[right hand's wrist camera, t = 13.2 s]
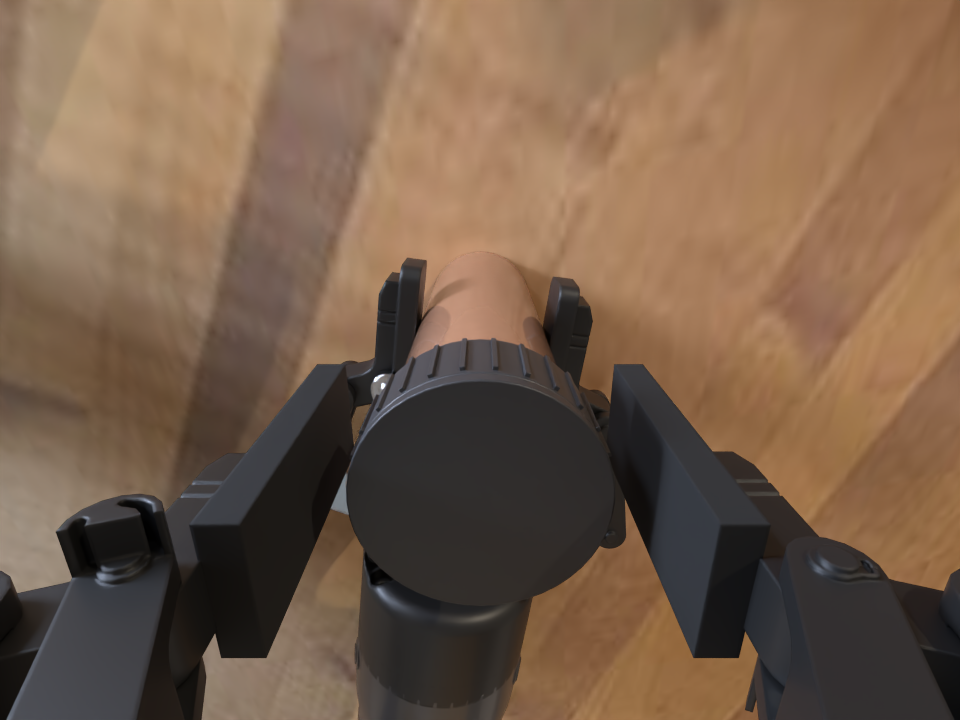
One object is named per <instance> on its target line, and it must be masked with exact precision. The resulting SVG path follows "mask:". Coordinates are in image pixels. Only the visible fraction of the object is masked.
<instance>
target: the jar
mask: <svg viewBox="0 0 960 720" xmlns="http://www.w3.org/2000/svg"><path fill="white" fill-rule="evenodd" d="M463 338H467V340H475V339H486V340H491V338H496V340H498V341H504V342H509V343H513V344H516V345H519V344H520V343H521V344H524V346H525V347H526V348H528V349H530V350H532V351H534V352H537V353H539V354H541V355H542V356H545V355H547V356H549V357H550V360H551V361H552V362H553V363H554V364H556V363H555V360H554V358H553V355H552V352H551V349H550V347H549V344H548V341H547V339H546V336H545V333H544V331H543V328H542V325H541V322H540V320H539V317H538V314H537V312H536V309H535V306H534V304H533V301H532V298H531V295H530V293H529V290H528V287H527V285H526V282H525V280H524V278H523V276H522V274H521V273H520V271H519V270H518V269H517V268H516V266H514V265H513V264H512V263H511V262H510V261H508V260H507V259H505V258H503V257H501V256H499V255H496V254H493V253H489V252H473V253H468V254H465V255H462V256H460V257H458V258H456V259H454V260H453V261H451V262H450V263H449V264H448V265H447V266H446V267H445V268H444V269H443V270H442V271H441V273H440V274H439V276H438V278H437V280H436V282H435V285H434V287H433V290H432V293H431V296H430V298H429V301H428V304H427V306H426V309H425V312H424V315H423V317H422V320H421V323H420V325H419V328H418V331H417V334H416V336H415V339H414V342H413V345H412V347H411V350H410V353H409V355H408V358H407V361H406V364H407V363H408V361H409V359H410V358H411V357H414V358H416V357H417V356H419V355H421V354H423V353H425V352H427V351H429V350H431V349H433V348H434V346H435V345H438V344H439V346H442V345H445V344H448V343H452V342H458V341H462V339H463ZM406 364H405V365H406Z"/></svg>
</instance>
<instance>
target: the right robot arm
mask: <svg viewBox="0 0 960 720" xmlns="http://www.w3.org/2000/svg"><path fill="white" fill-rule="evenodd" d="M607 446H608V448H609V450H610V453H611V457H609V459H610V462H611V466H612V469H613V472H614V474H615V476H616V479H617V481H618V483H619V486H620V488H621V490H622V493H623V495H624V497H625V500H626V502H627V504H628V507H629V509H630V511H631V514H632V516H633V518H634V521H635V523H636V525H637V528H638V530H639V532H640V534H641V537H642V539H643V541H644V544H645V546H646V548H647V551H648V553H649V555H650V558H651V560H652V562H653V565H654V567H655V569H656V572H657V574H658V576H659V579H660V581H661V583H662V586H663V588H664V590H665V593H666V595H667V597H668V600H669V602H670V604H671V607H672V609H673V611H674V614H675V616H676V618H677V621H678V623H679V625H680V627H681V630H682V632H683V634H684V637H685V639H686V641H687V644H688V646H689V648H690V651H691V653H692V655H693V658H739V655H740V651H741V646H742V642H743V638H744V634H745V632H746V633H747V635H748V637H749V639H750V640H751V642H752V644H753V646H754V647H755V649H756V651H757V653H758V658H757V662H756V666H755V669H754V673H753V677H752V681H751V685H750V689H749V692H748V696H747V701H746V708H745V710H747V711H750V712H753V709H754V706H755V702H756V700H757V709H758V717H759V720H960V569H958V570H957V571H955V572H954V573H952V574H951V575H950V577H949V580H948V582H947V585H946V587H945V590H944V591H941V590H936V589H931V588H927V587H922V586H917V585H913V584H908V583H903V582H899V581H894V580H891V579H888V577H887V575H886V574H885V573H884V571H883V570H882V569H881V567H880V566H879V565H878V564H877V563H876V562H874V561H873V560H872V559H870V558H869V557H868V556H867V555H865V554H864V553H862V552H860V551H858V550H856V549H854V548H852V547H850V546H848V545H846V544H844V543H841V542H838V541H834V540H831V539H828V538H822V537H819V536H818V535H817V534H816V533H815V532H814V531H813V530H812V528H811V527H810V526H809V525H808V524H807V523H806V522H805V521H804V520H803V518H802V517H801V516H800V515H799V514H798V513H797V512H796V511H795V510H794V508H793V507H792V506H791V505H790V504H789V503H788V502H787V501H786V500H785V499H784V497H783V496H780V495H779V492H778V491H777V490H776V489H775V487H774V486H773V485H772V484H771V483H768V480H767V479H766V477H765V476H764V475H763V474H762V473H761V472H760V471H759V470H758V469H757V468H756V466H755V465H754V464H752V463H750V462H749V461H747V460H745V459H744V458H742V457H741V456H739V455H737V454H736V453H734V452H712V450H711V449H710V448H709V447H708V445H707V444H706V443H705V442H704V440H703V439H702V438H701V437H700V435H699V434H698V433H697V432H696V430H695V429H694V428H693V427H692V425H691V424H690V423H689V422H688V420H687V419H686V418H685V417H684V415H683V414H682V413H681V412H680V410H679V409H678V408H677V407H676V405H675V404H674V403H673V402H672V400H671V399H670V398H669V397H668V395H667V394H666V393H665V392H664V390H663V389H662V388H661V387H660V385H659V384H658V383H657V382H656V380H655V379H654V378H653V377H652V375H651V374H650V373H649V372H648V370H647V369H646V368H645V367H644V365H643V364H614V373H613V383H612V393H611V403H610V413H609V423H608V434H607ZM353 448H354V444H353V434H352V424H351V413H350V403H349V393H348V383H347V373H346V364H317V365H316V367H315V368H314V369H313V370H312V372H311V373H310V374H309V375H308V377H307V378H306V379H305V380H304V382H303V383H302V384H301V385H300V387H299V388H298V389H297V390H296V392H295V393H294V394H293V395H292V397H291V398H290V399H289V400H288V402H287V403H286V404H285V405H284V407H283V408H282V409H281V410H280V412H279V413H278V414H277V415H276V417H275V418H274V419H273V420H272V422H271V423H270V424H269V425H268V427H267V428H266V429H265V430H264V432H263V433H262V434H261V435H260V437H259V438H258V439H257V440H256V442H255V443H254V444H253V445H252V447H251V448H250V449H249V450H248V452H247V453H227V454H226V455H224V456H223V457H221V458H219V459H218V460H216V461H214V462H213V463H211V464H210V465H208V466H206V467H205V469H204V470H203V471H202V472H201V473H200V474H199V475H198V476H197V477H196V479H195V480H194V481H193V484H192V485H189V486H188V488H187V489H186V490H185V491H184V492H183V493H182V494H181V498H178V499H177V500H176V501H175V502H174V503H173V504H172V505H171V506H170V508H169V509H168V510H167V511H166V512H164V508H163V505H162V502H161V501H160V500H159V499H157V498H156V497H154V496H151V495H144V494H132V495H122V496H118V497H114V498H111V499H107V500H103V501H100V502H98V503H96V504H94V505H91V506H89V507H87V508H85V509H82V510H81V511H79V512H78V513H76V514H75V515H73V516H72V517H70V518H69V519H67V520H66V521H65V522H64V523H63V524H62V525H61V527H60V528H59V529H58V530H57V531H56V534H57V537H58V539H59V542H60V545H61V548H62V551H63V553H64V556H65V559H66V562H67V565H68V567H69V570H70V573H71V576H72V580H71V582H67V583H63V584H58V585H54V586H49V587H44V588H40V589H35V590H31V591H26V592H21V593H17V592H16V590H15V587H14V585H13V582H12V580H11V577H10V576H8V575H7V574H5V573H4V572H2V571H0V720H201V719H202V710H203V702H204V693H205V684H206V672H205V666H204V662H203V658H202V656H203V654H204V652H205V650H206V648H207V647H208V645H209V643H210V641H211V639H212V638H213V636H214V634H216V638H217V642H218V647H219V651H220V655H221V658H267V655H268V653H269V651H270V648H271V646H272V644H273V641H274V639H275V637H276V634H277V632H278V630H279V627H280V625H281V623H282V620H283V618H284V616H285V613H286V611H287V609H288V607H289V604H290V602H291V600H292V597H293V595H294V593H295V590H296V588H297V586H298V583H299V581H300V579H301V576H302V574H303V572H304V569H305V567H306V565H307V562H308V560H309V558H310V555H311V553H312V551H313V548H314V546H315V544H316V541H317V539H318V537H319V534H320V532H321V530H322V527H323V525H324V523H325V520H326V518H327V516H328V514H329V511H330V509H331V507H332V504H333V502H334V500H335V497H336V495H337V493H338V490H339V488H340V486H341V483H342V481H343V479H344V476H345V474H346V472H347V469H348V467H349V465H350V462H351V460H350V459H349V458H350V455H351V452H352V450H353Z"/></svg>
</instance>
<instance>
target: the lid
mask: <svg viewBox="0 0 960 720" xmlns="http://www.w3.org/2000/svg"><path fill="white" fill-rule="evenodd" d="M609 457H611V453H610V450H609V448H608V446H607V444H606V441H605V439H604V437H603V435H602V432H601V428H600V426H599V424H598V422H597V420H596V417H595V415H594V413H593V411H592V408H591V406H590V404H589V402H588V399H587V397H586V395H585V393H584V392H582V393H580V392H579V390H578V388H577V387H576V385H575V384H574V382H573V380H572V377H571V375H570V373H569V372H568V371H567V372H566V373H565V372H564V371H562V370H561V369H560V368H559V367H558V366H557V365H556V364H554V363H553V362H552V361H551V360H550V357H549V356H547V355H545V356H542V355H541V354H539V353H537V352H534V351H532V350H530V349H528V348H526V347H525V346H524V344H521V343H520V344H519V345H516V344H513V343H509V342H504V341H498V340H496V338H491V340H486V339H475V340H467V338H463V339H462V341H458V342H452V343H448V344H445V345H442V346H439V344H438V345H435V346H434V348H433V349H431V350H429V351H427V352H425V353H423V354H421V355H419V356H417V357H416V358H414V357H411V358H410V359H409V361H408V363H407V364H406V365H405V366H403V367H402V368H401V369H400V370H399V371H398V372H397V373H396V374H395V375H394V374H391V375H390V376H389V378H388V380H387V383H386V385H385V387H384V389H383V390H382V392H381V393H380V395H378V394H376V395H375V397H374V400H373V402H372V404H371V406H370V409H369V411H368V413H367V415H366V418H365V420H364V422H363V424H362V426H361V429H360V431H359V437H358V439H357V441H356V443H355V446H354V448H353V450H352V452H351V455H350V458H349V459H350V460H351V463H350V467H349V470H348V475H347V483H346V503H347V508H348V513H349V518H350V521H351V524H352V527H353V529H354V532H355V534H356V536H357V538H358V540H359V542H360V544H361V545H362V547H363V548H364V549H365V551H366V552H367V554H368V555H369V556H370V558H371V559H372V560H373V561H374V562H375V563H376V564H377V565H378V566H379V567H380V568H381V569H382V570H383V571H384V572H386V573H387V574H388V575H389V576H390V577H392V578H393V579H395V580H396V581H398V582H399V583H401V584H402V585H404V586H406V587H408V588H410V589H412V590H414V591H415V592H417V593H420V594H422V595H425V596H428V597H430V598H433V599H437V600H441V601H445V602H448V603H455V604H461V605H475V606H486V605H500V604H507V603H513V602H517V601H521V600H525V599H528V598H531V597H534V596H536V595H539V594H542V593H544V592H546V591H548V590H550V589H552V588H554V587H556V586H558V585H559V584H561V583H562V582H564V581H565V580H567V579H568V578H570V577H571V576H572V575H573V574H575V573H576V572H577V571H578V570H579V569H581V568H582V567H583V566H584V564H585V563H586V562H587V561H588V560H589V559H590V558H591V557H592V556H593V554H594V553H595V551H596V550H597V549H598V547H599V546H600V544H601V542H602V540H603V539H604V537H605V535H606V533H607V530H608V528H609V525H610V522H611V519H612V515H613V510H614V505H615V480H614V473H613V469H612V466H611V462H610V459H609Z"/></svg>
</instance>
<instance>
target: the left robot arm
mask: <svg viewBox="0 0 960 720" xmlns="http://www.w3.org/2000/svg"><path fill="white" fill-rule="evenodd" d="M426 267H427V261H426V260H420V259H413V258H407V259H406V260H405V262H404V263H403V264H402V267H401V271H400V273H394V272H392V273H391V275H390V276H389V277H388V278H387V280H386V281H385V283H384V285H383V287H382V289H381V291H380V293H379V301H378V317H377V333H376V349H375V358H373V359H371V360H369V361H365V362H360V363H358V362H355V361H346V362H343V363H342V364H346V373H347V383H348V393H349V403H350V413H351V421H352V418H353V415H354V412H355V410H356V407H358V406H363V405H368V404H372V402H373V400H374V397H375V395H376V394H378V395H380V393H381V392H382V390H383V389H384V387H385V385H386V383H387V380H388V378H389V376H390V375H391V374H394V375H395V374H396V373H397V372H398V371H399V370H400V369H401V368H402V367H403V366H405V364H406V361H407V358H408V355H409V353H410V350H411V347H412V345H413V342H414V339H415V336H416V334H417V331H418V328H419V325H420V323H421V320H422V310H423V299H424V289H425V278H426ZM592 322H593V320H592V315H591V309H590V306H589V305H588V303H587V302H586V301H585V299H584V298H583V297H582V296H580V290H579V287H578V285H577V284H576V283H575V282H574V280H573V279H568V278H560V277H553V279H552V281H551V285H550V291H549V296H548V301H547V307H546V312H545V318H544V323H543V331H544V333H545V336H546V339H547V341H548V344H549V347H550V349H551V352H552V355H553V358H554V360H555V363H556V365H557V366H558V367H559V368H560V369H561V370H562V371H564V372H565V373H566V372H567V371H568V372H569V373H570V375H571V377H572V380H573V382H574V384H575V385H576V387H577V388H578V390H579V392H580V393H582V392H584V393H585V395H586V397H587V399H588V402H589V404H590V406H591V408H592V411H593V413H594V415H595V417H596V420H597V422H598V424H599V426H600V428H601V432H602V435H603V437H604V439H605V441H606V444H607V434H608V423H609V413H610V403H609V401H608V399H607V397H606V396H605V394H604V393H603V392H601V391H598V390H588V389H585V388H583V387H582V386H580V385H579V381H580V377H581V372H582V367H583V363H584V358H585V354H586V348H587V345H588V340H589V336H590V331H591V327H592ZM350 463H351V462H350ZM349 467H350V465H349ZM349 467H348V469H347V472H346V474H345V476H344V479H343V481H342V483H341V486H340V488H339V490H338V493H337V495H336V497H335V500H334V502H333V504H332V507H331V509H332V510H335V511H338V512H341V513H344V514H347V515H349V513H348V508H347V503H346V483H347V475H348V470H349ZM613 473H614V472H613ZM614 480H615V505H614V510H613V515H612V519H611V522H610V525H609V528H608V530H607V533H606V535H605V537H604V539H603V540H602V542H601V544H600V546H601V547H604V548H616V547H618V546H620V545H621V544H622V543H623V542H624V540H625V538H626V521H625V497H624V495H623V493H622V490H621V488H620V486H619V483H618V481H617V479H616V476H615V474H614ZM532 598H533V597H531V598H528V599H525V600H521V601H517V602H513V603H507V604H500V605H486V606H475V605H461V604H455V603H448V602H445V601H441V600H437V599H433V598H430V597H428V596H425V595H422V594H420V593H417V592H415V591H414V590H412V589H410V588H408V587H406V586H404V585H402V584H401V583H399V582H398V581H396V580H395V579H393V578H392V577H390V576H389V575H388V574H387V573H386V572H384V571H383V570H382V569H381V568H380V567H379V566H378V565H377V564H376V563H375V562H374V561H373V560H372V559H371V558H370V556H369V555H368V554H367V552H366V551H365V549H364V553H363V570H362V585H361V600H360V616H359V630H358V637H357V640H356V643H355V664H356V686H357V695H358V702H359V710H358V720H502V717H503V715H504V713H505V711H506V708H507V706H508V703H509V699H510V696H511V693H512V689H513V685H514V683H515V681H516V680H517V676H518V672H519V667H520V662H521V657H520V652H521V648H522V643H523V639H524V634H525V630H526V625H527V621H528V616H529V612H530V607H531V602H532Z"/></svg>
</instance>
